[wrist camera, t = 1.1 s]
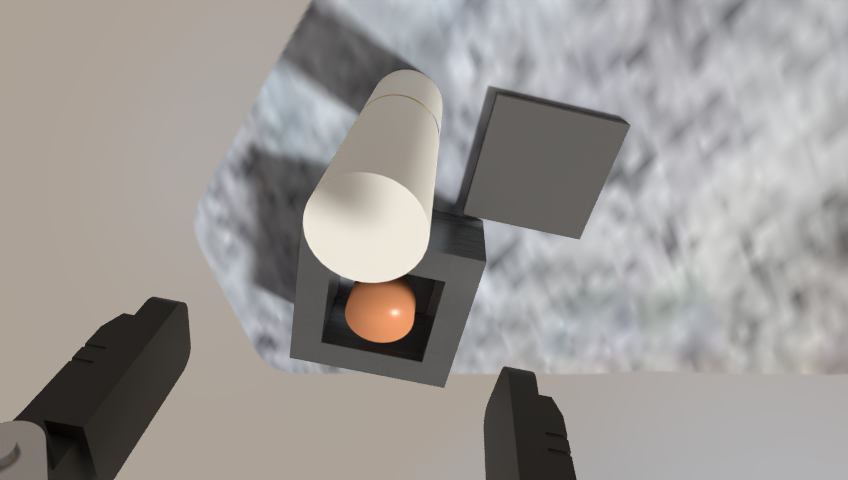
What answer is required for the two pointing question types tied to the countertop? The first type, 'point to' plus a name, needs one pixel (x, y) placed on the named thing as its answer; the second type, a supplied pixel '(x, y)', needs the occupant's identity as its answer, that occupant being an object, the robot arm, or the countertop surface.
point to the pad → (542, 165)
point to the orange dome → (381, 309)
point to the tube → (380, 184)
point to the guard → (430, 334)
